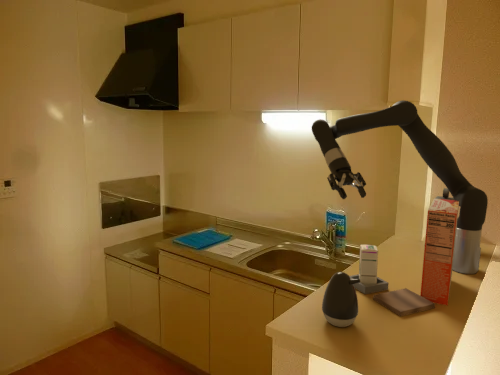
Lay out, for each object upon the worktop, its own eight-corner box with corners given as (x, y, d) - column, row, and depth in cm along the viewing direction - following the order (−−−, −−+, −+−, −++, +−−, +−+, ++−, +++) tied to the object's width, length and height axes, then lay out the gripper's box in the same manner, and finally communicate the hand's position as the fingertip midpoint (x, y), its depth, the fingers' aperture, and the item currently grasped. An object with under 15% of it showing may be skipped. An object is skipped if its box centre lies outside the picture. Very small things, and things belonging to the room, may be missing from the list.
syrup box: (376, 290, 131) (379, 250, 129) (358, 288, 132) (361, 248, 130) (374, 283, 137) (377, 245, 134) (357, 282, 138) (359, 243, 135)
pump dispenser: (351, 335, 103) (355, 283, 100) (315, 325, 108) (318, 274, 106) (362, 319, 111) (365, 270, 109) (328, 310, 117) (330, 263, 114)
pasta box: (427, 275, 144) (434, 198, 139) (451, 280, 140) (459, 200, 135) (420, 299, 125) (427, 210, 120) (447, 305, 121) (456, 213, 116)
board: (405, 292, 130) (405, 288, 130) (434, 307, 119) (435, 303, 119) (373, 299, 124) (373, 295, 124) (400, 316, 114) (400, 311, 113)
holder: (368, 278, 141) (369, 272, 141) (388, 289, 132) (388, 282, 132) (346, 282, 137) (346, 276, 137) (364, 294, 128) (365, 287, 128)
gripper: (326, 156, 141) (343, 192, 132) (357, 156, 146) (375, 190, 138) (317, 169, 146) (333, 204, 138) (347, 168, 152) (365, 201, 143)
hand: (354, 197), depth 138 cm, fingers open, 8 cm apart
